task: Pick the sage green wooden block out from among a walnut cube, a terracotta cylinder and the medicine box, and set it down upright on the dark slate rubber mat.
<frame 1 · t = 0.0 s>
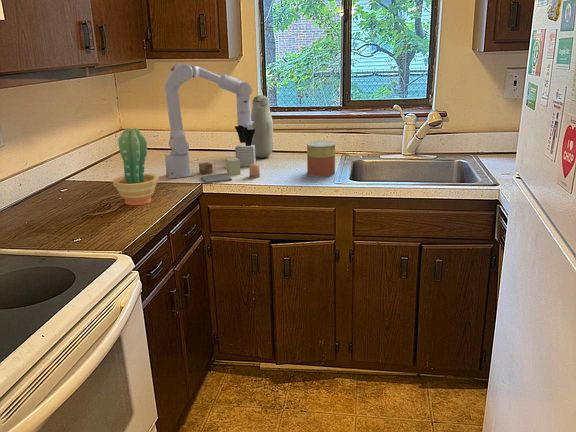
hand: (245, 144, 223), 10 cm above the countertop, tool pointing down, fingers open, 7 cm apart
walnut cube: (206, 173, 219), on the countertop
canned food: (321, 173, 215), on the countertop
slate mat: (216, 179, 209), on the countertop
terracotta cylinder: (254, 176, 211), on the countertop
potted cactus: (138, 201, 183), on the countertop
sage green block: (233, 173, 217), on the countertop
grey-green bottle: (262, 157, 245), on the countertop
medicine box: (246, 166, 230), on the countertop
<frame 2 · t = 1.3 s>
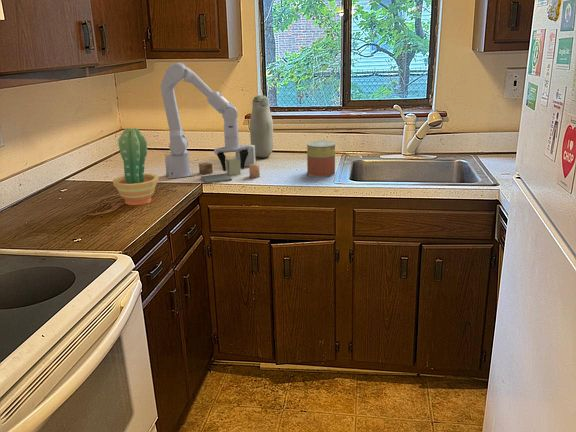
hand: (233, 169, 217), 2 cm above the countertop, tool pointing down, fingers open, 7 cm apart
nothing on the countertop moved.
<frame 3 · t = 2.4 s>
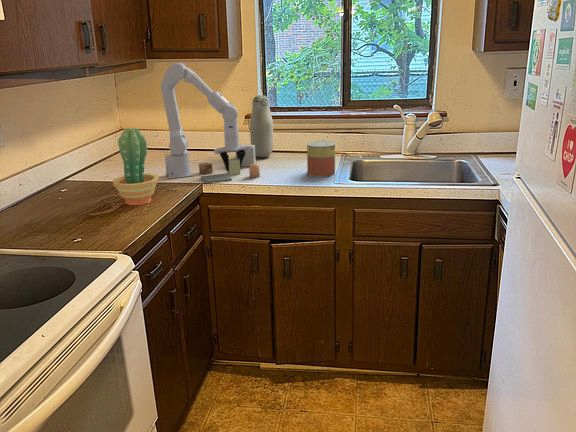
hand: (233, 169, 217), 2 cm above the countertop, tool pointing down, fingers closed on sage green block, 4 cm apart
sage green block: (233, 173, 217), on the countertop, touching gripper
everything else where it was.
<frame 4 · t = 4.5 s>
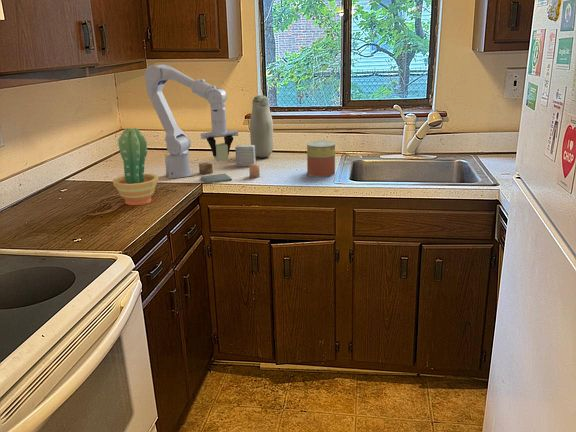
hand: (220, 155, 209), 9 cm above the countertop, tool pointing down, fingers closed on sage green block, 4 cm apart
sage green block: (221, 159, 209), point 7 cm above the countertop, touching gripper
everything else where it was.
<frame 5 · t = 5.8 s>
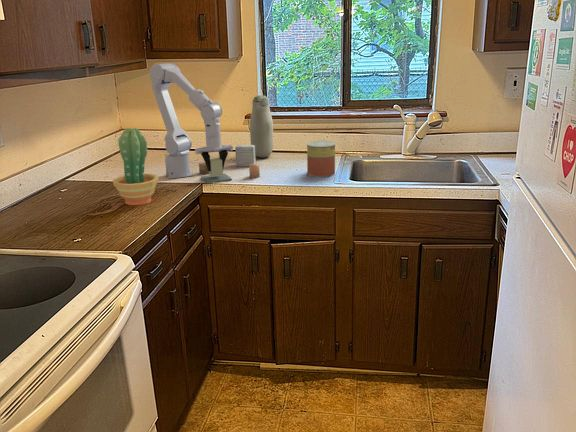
hand: (215, 170, 207), 4 cm above the countertop, tool pointing down, fingers closed on sage green block, 4 cm apart
sage green block: (215, 174, 208), point 2 cm above the countertop, touching gripper
everything else where it was.
when the fingers open (3 cm above the countertop, at t = 6.7 s): sage green block stays where it is, resting on slate mat.
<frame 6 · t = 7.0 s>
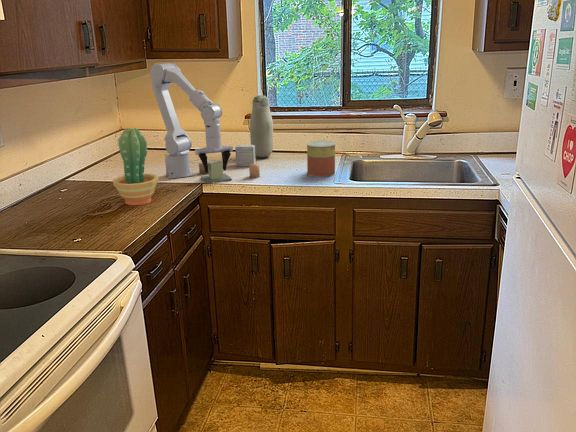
hand: (215, 171, 208), 3 cm above the countertop, tool pointing down, fingers open, 7 cm apart
sage green block: (216, 177, 208), point 1 cm above the countertop, touching slate mat
everything else where it was.
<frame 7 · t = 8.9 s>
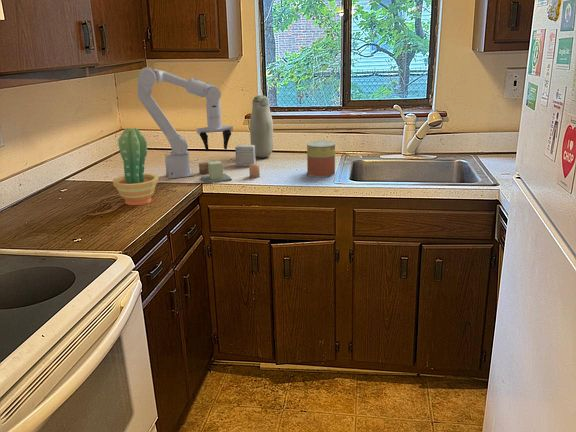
hand: (216, 149, 217), 9 cm above the countertop, tool pointing down, fingers open, 7 cm apart
nothing on the countertop moved.
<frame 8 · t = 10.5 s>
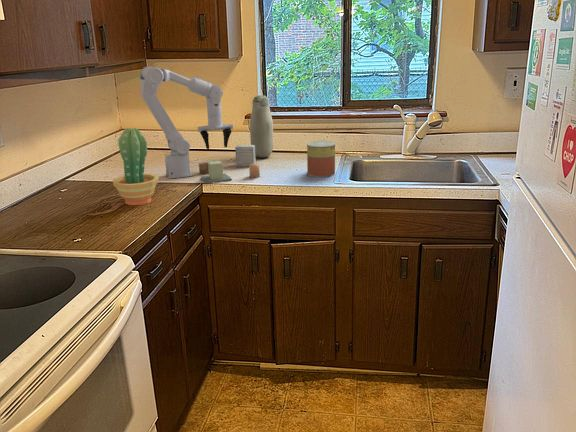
hand: (216, 147, 221), 9 cm above the countertop, tool pointing down, fingers open, 7 cm apart
nothing on the countertop moved.
at the end: sage green block inside the target area on the slate mat (0.0 cm from its centre), point 0.8 cm above the slate mat's base; sage green block tilted 0°; the gripper is holding nothing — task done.
